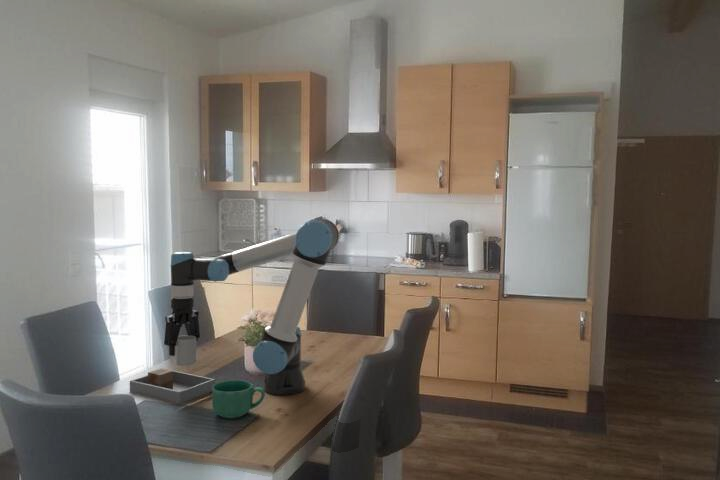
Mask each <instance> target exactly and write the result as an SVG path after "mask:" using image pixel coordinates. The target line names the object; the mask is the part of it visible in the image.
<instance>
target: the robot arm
mask: <svg viewBox="0 0 720 480" xmlns="http://www.w3.org/2000/svg"><path fill="white" fill-rule="evenodd" d="M339 239H340V233H339V230H338V227H337V225H336V224H335V223H334V222H333V221H331V220H329V219H326V218H319V219H310V220H308V221H306V222H304V223H303V224H302V225H300V226H299V228H298V229H297V231H296V232H293V233H289V234H287V235H283V236H281V237H277V238H274V239H270V240H268V241H267V240H266V241H264V242H261V243H257V244H254V245H251V246H248V247H246V248H241V249H238V250H236V251H233V252H229V253H224V254H222V255H219V256H215V257H211V258H195V256H194V255H195V254H194V252H190V251H177V252H176V251H175V252H173V253H172V254H171V256H170V288H171V289H170V296H171V298H170V308H171V309H172V312H171V315H166V316H165V319H164V320H165V331H164V342H163V345H165V346H168V353H169V354H168V355H169V356H170V358H169V359H170V365H172V366H179V365H178V346H176V343H177V339H178V336H180V335H179V334H180V331H181V328H182V327H183V325H184V328H185V330H186V334H187V335H190V336H195V337H196V342H198V341H199V338H200V337H201V331H200V324H199V323H200V321H199V313H200V312H199V310H194V309H193V308H194V307H195V306H194V305H195V302H194V300H195V298H194V297H193V296H194V295H195V294H194V293H195V292H194V289H195V288H194V284H195V283H194V281H203V282H205V281H206V282H215V283H216V282H224V281H226V280H227V278H228V276H230V275H232V274H237V273H240V272H243V271H246V270H249V269H252V268H256V267H260V266H262V265H267V264H268V263H269V264H270V263H272V262H276V261H280V260H282V259H287V258H289V257H293V258H294V260H293V264H292V267H291V269H290V271H289V274H288V277H287V280H286V283H285V285H284V288H283V291H282V293H281V297H280V300H279V302H278V304H277V307H276V310H275V311H274V312H275V313H274V315H273V318H272V321H271V324H269V325H266V326H265V327H264V329H263V331H262V332H263V333H262V336H261V338H260V340H259V342H258V343H257V344H256V345H255V347H254V349H253V351H252V352H253V353H252V361H253V363H254V365H255V367H256V368H257V369H258V370H259V371H260V372H262V373H264V374H265V378H264V381H263V387H262V388H263V390H264V392H265V393H268V394H271V395H278V396H279V395H280V396H284V395H294V394H295V395H296V394H299V393H302V392H303V391H305V390H306V380H305V378H304V373H303V370H302V367H301V366H302V363H301V362H302V361H301V358H302V356H301V355H302V354H301V353H302V349H301V348H302V345H301V344H302V331H301V328H300V327H299V323H300V321H301V318H302V315H303V312H304V310H305V307H306V304H307V302H308V299H309V296H310V294H311V291H312V288H313V286H314V283H315V280H316V278H317V275H318V272H319V269H320V268H322V267H325V266H326V264H327V261H328V258H329V256H330V252H331V251H332V250H333V249H335V247H336V246H337V244H338V243H339ZM172 342H173V343H172Z"/></svg>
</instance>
